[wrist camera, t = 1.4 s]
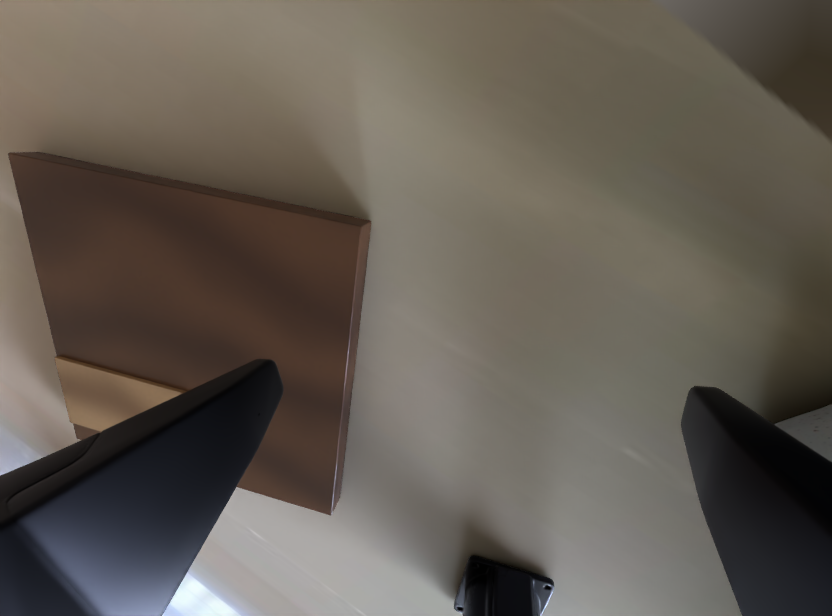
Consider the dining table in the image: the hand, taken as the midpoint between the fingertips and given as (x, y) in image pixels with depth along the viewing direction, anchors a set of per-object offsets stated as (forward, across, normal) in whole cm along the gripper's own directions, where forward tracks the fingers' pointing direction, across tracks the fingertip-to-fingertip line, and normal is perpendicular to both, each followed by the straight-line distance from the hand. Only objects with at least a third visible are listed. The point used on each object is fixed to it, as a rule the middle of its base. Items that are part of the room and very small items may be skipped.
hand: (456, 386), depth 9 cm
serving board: (+12, +20, +8) cm, 25 cm away
